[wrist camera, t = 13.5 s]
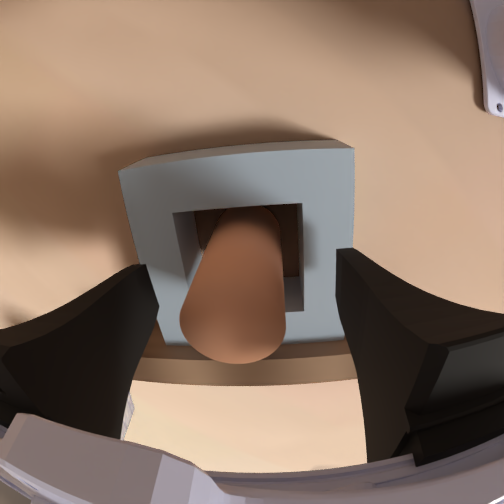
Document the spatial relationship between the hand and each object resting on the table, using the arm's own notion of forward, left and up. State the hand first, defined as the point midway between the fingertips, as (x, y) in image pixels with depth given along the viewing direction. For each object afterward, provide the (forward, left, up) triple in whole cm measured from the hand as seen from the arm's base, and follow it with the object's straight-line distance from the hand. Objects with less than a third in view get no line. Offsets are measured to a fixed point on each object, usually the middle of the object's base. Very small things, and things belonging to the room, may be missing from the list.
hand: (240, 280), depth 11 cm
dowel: (0, 0, -4) cm, 4 cm away
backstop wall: (0, +6, -4) cm, 7 cm away
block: (0, 0, -4) cm, 4 cm away
